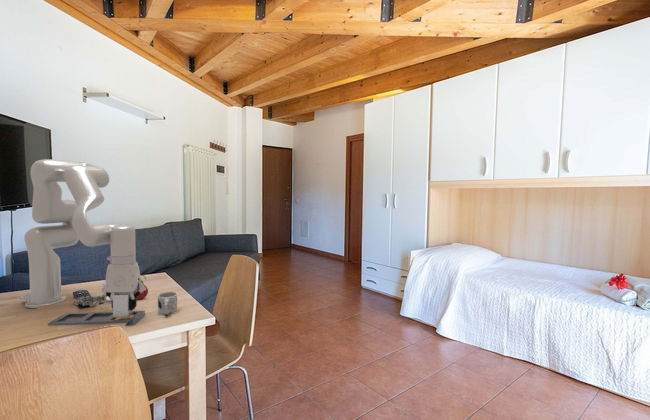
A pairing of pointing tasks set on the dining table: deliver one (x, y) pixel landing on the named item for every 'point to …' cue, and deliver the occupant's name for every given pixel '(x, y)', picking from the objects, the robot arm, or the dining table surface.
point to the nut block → (122, 305)
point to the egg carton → (88, 300)
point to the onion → (142, 293)
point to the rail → (96, 318)
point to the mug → (167, 303)
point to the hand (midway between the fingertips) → (124, 308)
